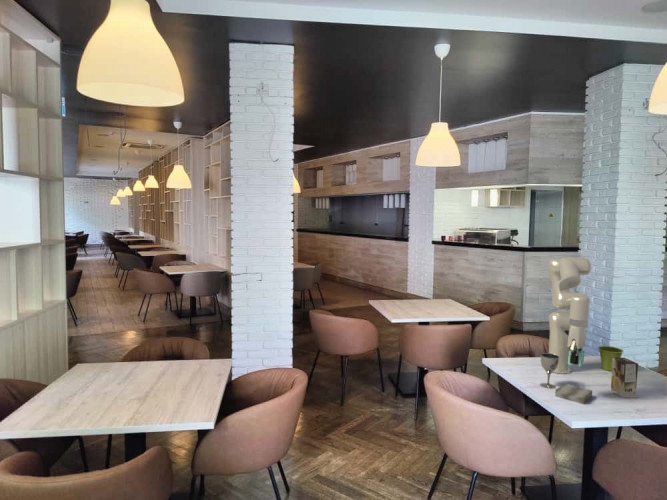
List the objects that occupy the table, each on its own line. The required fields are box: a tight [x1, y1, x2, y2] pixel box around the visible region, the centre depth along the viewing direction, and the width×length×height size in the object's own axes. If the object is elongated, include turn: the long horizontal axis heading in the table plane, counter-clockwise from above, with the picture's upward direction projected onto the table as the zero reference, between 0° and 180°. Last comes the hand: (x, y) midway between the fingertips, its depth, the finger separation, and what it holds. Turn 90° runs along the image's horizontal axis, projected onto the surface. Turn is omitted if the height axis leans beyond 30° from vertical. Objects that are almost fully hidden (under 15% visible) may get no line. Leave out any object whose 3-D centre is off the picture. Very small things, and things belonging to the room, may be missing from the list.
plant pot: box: [597, 345, 624, 372], centre depth 246 cm, size 12×12×11 cm
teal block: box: [568, 349, 585, 368], centre depth 205 cm, size 5×5×6 cm
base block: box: [554, 383, 593, 405], centre depth 207 cm, size 12×12×3 cm
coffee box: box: [610, 357, 639, 399], centre depth 211 cm, size 9×6×16 cm
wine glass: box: [539, 352, 559, 390], centre depth 219 cm, size 8×8×15 cm
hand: (575, 362), depth 206 cm, fingers closed on teal block, 4 cm apart
